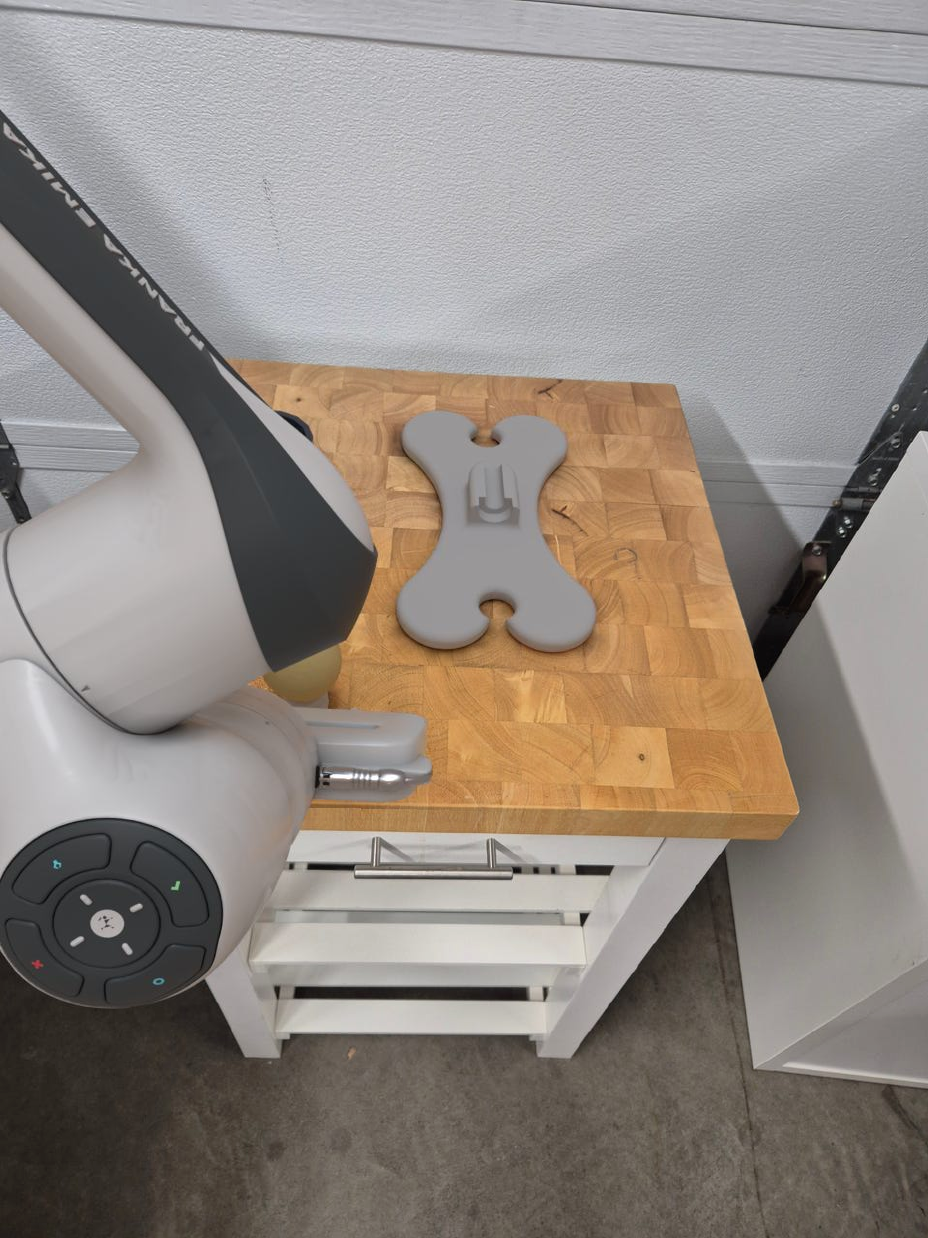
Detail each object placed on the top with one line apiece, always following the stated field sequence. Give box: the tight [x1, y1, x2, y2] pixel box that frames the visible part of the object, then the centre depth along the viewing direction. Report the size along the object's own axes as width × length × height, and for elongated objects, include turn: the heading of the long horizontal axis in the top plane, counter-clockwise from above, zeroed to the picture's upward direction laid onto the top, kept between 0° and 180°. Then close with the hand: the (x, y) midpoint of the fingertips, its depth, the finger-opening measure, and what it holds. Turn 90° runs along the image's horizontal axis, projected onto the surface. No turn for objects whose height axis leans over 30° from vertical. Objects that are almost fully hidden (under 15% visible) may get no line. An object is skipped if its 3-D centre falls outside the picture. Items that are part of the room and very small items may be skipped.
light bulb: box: [262, 644, 343, 709], centre depth 66 cm, size 6×6×10 cm
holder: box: [395, 410, 597, 653], centre depth 84 cm, size 19×34×5 cm, turn 2°
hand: (277, 715), depth 55 cm, fingers open, 8 cm apart
